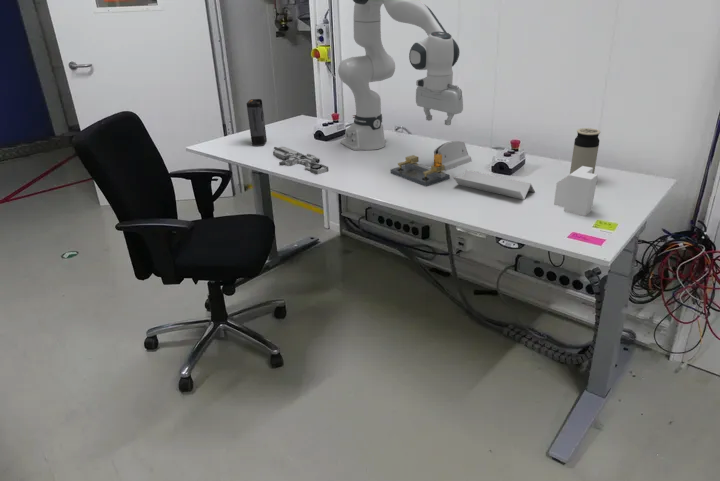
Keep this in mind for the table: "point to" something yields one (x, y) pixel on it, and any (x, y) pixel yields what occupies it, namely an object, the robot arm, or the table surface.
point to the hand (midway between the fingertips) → (438, 122)
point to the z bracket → (495, 184)
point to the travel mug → (585, 149)
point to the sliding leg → (435, 165)
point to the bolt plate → (418, 172)
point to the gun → (299, 159)
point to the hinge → (453, 154)
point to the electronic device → (256, 122)
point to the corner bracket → (577, 191)
